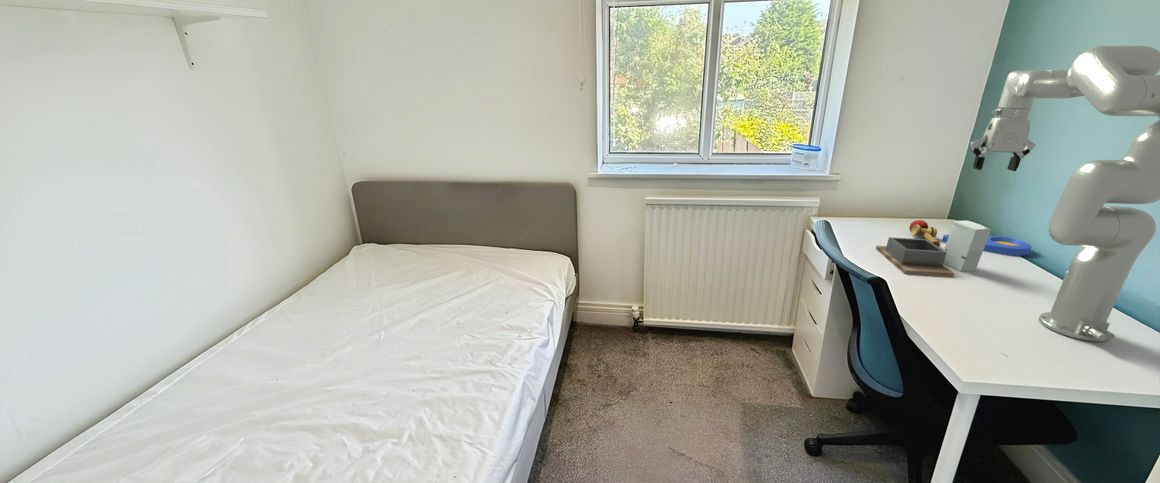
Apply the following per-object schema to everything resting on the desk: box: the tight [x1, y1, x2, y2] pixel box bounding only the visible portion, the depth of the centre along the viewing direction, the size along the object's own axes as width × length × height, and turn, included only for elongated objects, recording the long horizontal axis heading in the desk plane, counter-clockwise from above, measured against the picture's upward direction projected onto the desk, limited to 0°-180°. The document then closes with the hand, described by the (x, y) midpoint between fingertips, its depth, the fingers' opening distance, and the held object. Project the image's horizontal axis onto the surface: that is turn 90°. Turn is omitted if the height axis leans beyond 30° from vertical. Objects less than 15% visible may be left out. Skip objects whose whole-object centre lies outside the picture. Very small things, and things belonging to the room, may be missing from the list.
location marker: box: [941, 234, 1032, 257], centre depth 170 cm, size 13×3×25 cm
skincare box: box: [943, 220, 992, 272], centre depth 151 cm, size 8×6×15 cm
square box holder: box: [875, 237, 955, 278], centre depth 156 cm, size 22×14×6 cm, turn 170°
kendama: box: [908, 219, 941, 248], centre depth 176 cm, size 8×6×18 cm
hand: (994, 169), depth 148 cm, fingers open, 9 cm apart
